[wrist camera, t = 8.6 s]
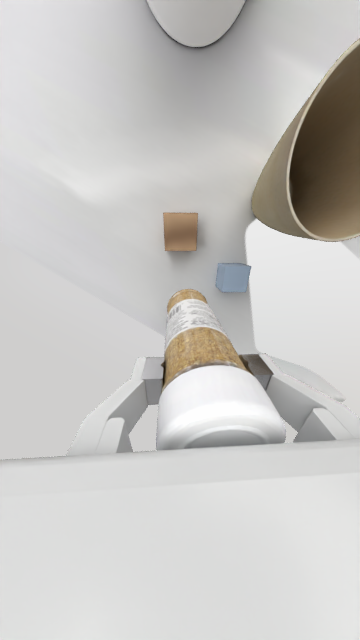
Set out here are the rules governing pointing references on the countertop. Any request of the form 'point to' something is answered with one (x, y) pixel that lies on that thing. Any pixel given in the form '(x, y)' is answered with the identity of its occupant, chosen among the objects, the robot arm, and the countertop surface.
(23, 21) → the countertop surface
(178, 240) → the walnut block
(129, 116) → the countertop surface
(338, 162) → the plant pot
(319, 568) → the robot arm
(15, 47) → the countertop surface
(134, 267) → the countertop surface
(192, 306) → the sprinkles bottle
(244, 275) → the slate blue block
